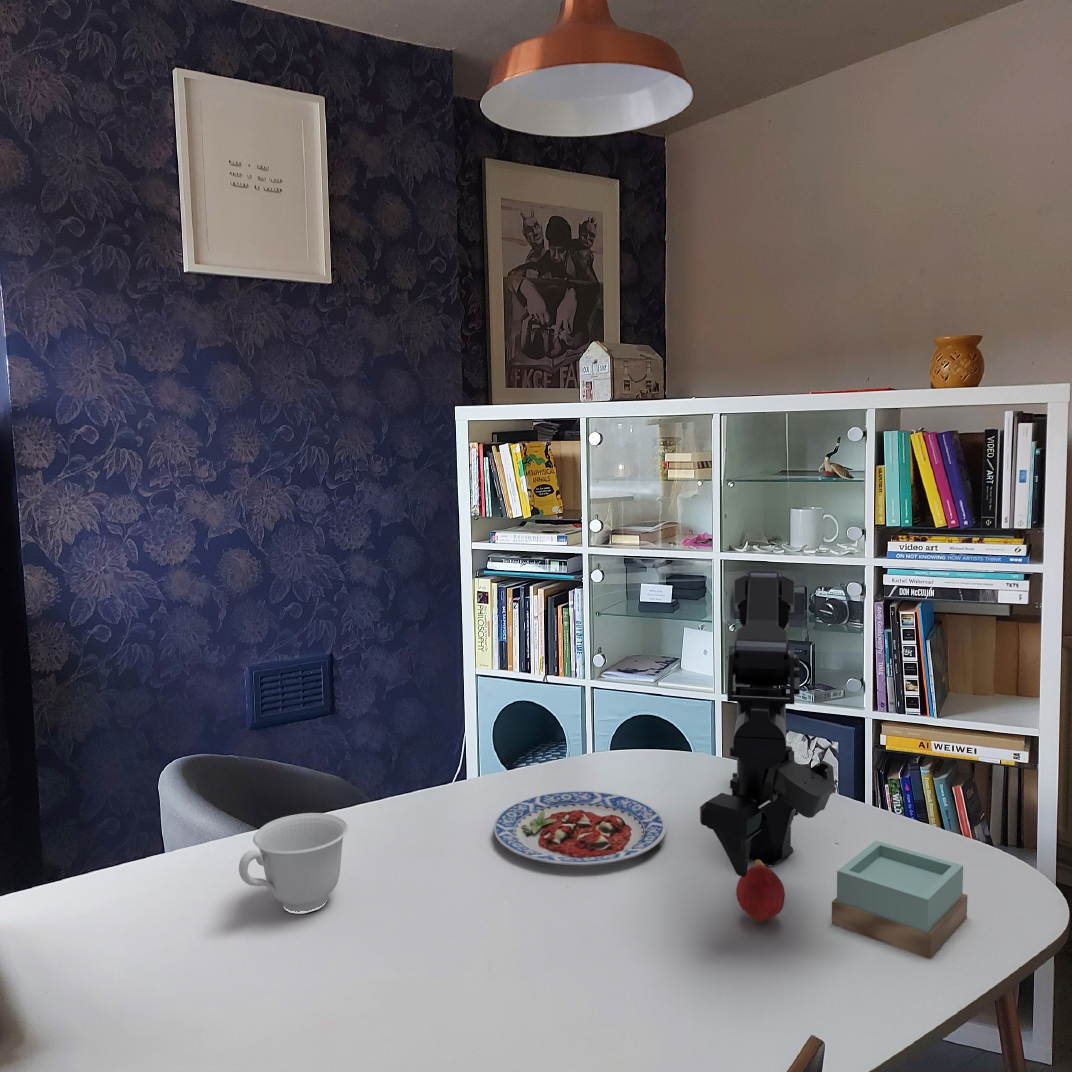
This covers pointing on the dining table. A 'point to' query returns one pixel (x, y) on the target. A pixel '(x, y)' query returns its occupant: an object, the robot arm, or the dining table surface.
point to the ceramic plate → (579, 828)
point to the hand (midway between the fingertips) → (760, 862)
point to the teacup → (298, 858)
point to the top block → (900, 885)
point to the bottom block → (901, 928)
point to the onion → (760, 893)
